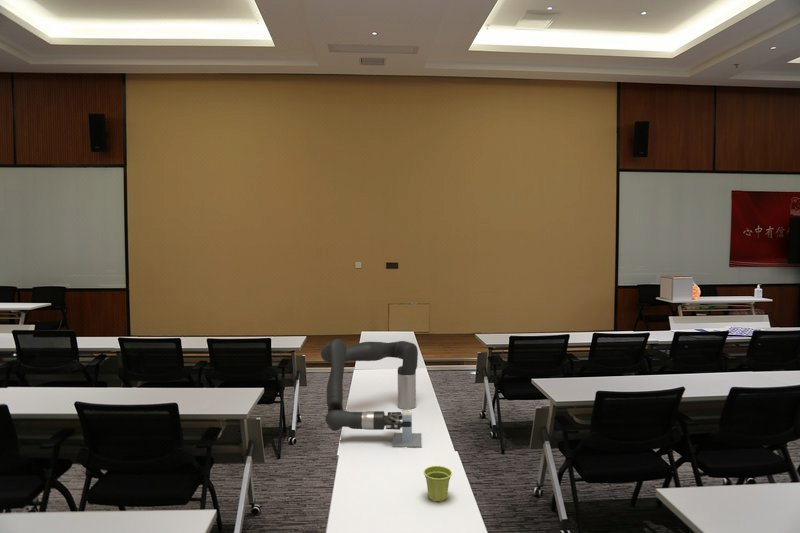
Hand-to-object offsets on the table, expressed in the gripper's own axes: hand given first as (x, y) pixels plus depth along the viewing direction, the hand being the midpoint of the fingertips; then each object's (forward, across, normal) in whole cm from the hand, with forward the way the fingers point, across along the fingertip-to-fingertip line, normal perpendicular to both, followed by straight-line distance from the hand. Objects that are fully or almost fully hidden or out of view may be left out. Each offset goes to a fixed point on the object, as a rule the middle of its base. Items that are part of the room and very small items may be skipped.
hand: (411, 420), depth 217 cm
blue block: (-2, 0, +8) cm, 8 cm away
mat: (-2, 0, +9) cm, 9 cm away
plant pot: (+9, -47, +9) cm, 49 cm away
